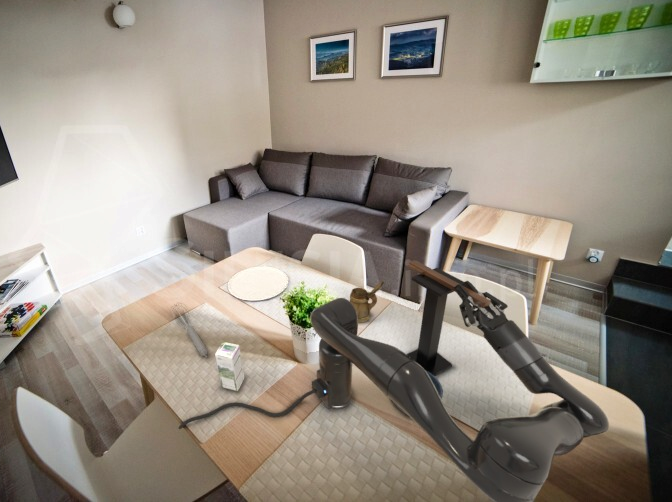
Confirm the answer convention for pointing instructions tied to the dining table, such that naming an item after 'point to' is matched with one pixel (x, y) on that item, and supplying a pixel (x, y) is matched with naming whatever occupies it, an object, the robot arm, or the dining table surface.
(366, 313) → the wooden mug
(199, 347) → the kitchen whisk
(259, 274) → the plate
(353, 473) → the dining table surface
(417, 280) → the stand
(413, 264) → the stirring paddle
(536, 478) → the robot arm
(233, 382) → the syrup box
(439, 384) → the bowl
